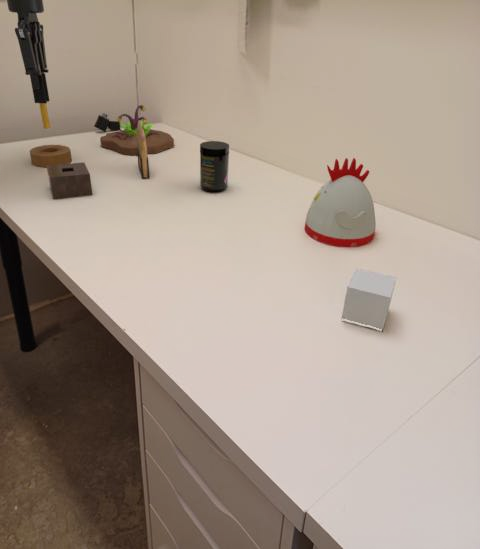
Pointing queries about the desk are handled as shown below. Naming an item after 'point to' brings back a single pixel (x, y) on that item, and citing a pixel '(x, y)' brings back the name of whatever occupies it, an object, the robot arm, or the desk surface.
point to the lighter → (106, 123)
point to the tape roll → (50, 155)
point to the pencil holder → (69, 180)
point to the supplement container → (214, 166)
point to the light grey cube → (368, 298)
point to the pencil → (44, 114)
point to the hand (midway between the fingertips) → (42, 101)
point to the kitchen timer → (342, 209)
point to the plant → (128, 138)
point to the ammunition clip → (142, 152)
